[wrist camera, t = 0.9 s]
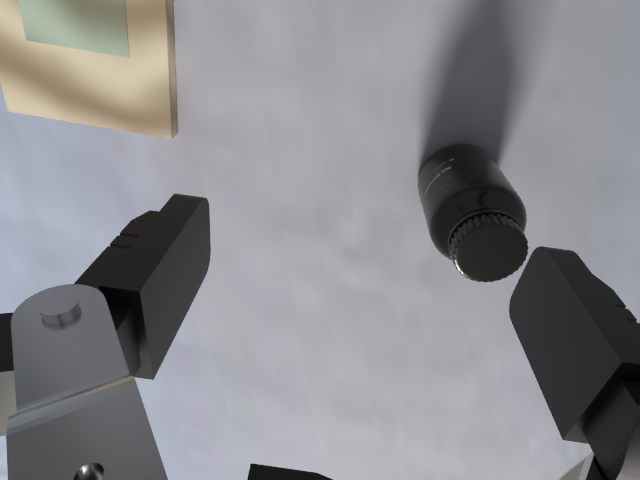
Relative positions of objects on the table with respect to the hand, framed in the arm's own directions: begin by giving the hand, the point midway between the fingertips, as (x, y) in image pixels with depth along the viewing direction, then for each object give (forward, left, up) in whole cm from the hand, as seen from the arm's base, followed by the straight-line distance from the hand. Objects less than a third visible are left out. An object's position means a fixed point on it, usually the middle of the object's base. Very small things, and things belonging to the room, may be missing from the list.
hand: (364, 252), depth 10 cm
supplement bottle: (+8, +10, -27) cm, 30 cm away
